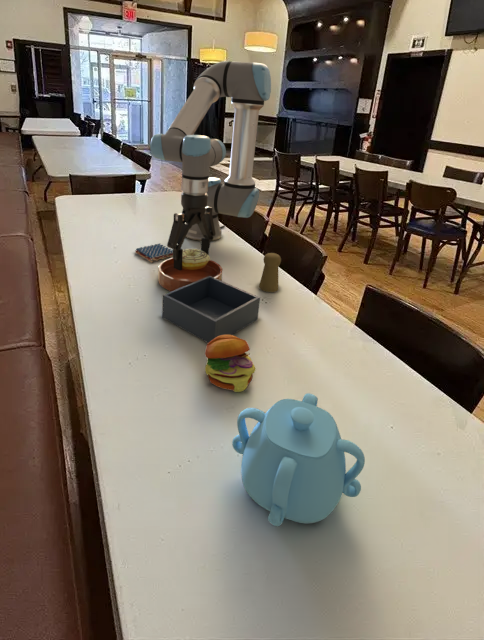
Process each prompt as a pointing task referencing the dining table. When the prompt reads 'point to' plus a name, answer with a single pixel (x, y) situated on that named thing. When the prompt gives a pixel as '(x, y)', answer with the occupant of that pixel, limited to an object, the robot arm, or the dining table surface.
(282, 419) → the decorative pot
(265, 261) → the brown pawn
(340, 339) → the dining table surface
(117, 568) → the dining table surface
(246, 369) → the cheeseburger
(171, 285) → the bowl
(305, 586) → the dining table surface
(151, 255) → the woven mat
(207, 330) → the bin
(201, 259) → the decorated donut
